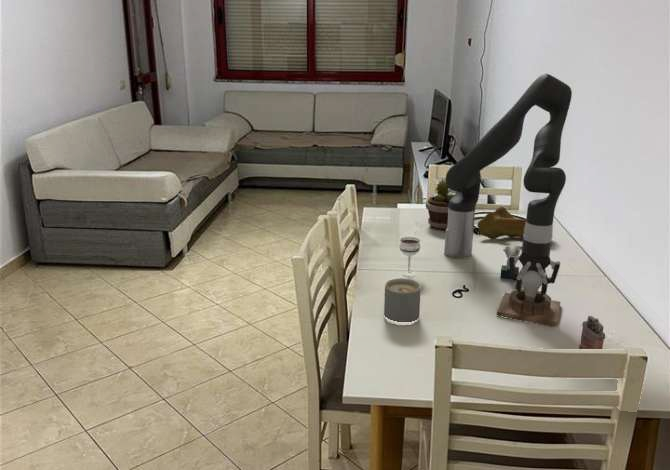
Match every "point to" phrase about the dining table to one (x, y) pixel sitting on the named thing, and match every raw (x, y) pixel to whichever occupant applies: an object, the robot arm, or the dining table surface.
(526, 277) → the lightbulb
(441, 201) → the flowerpot
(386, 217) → the dining table surface
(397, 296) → the coffee mug
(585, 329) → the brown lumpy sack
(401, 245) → the wineglass
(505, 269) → the watch
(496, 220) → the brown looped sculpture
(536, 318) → the lamp socket
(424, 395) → the dining table surface
